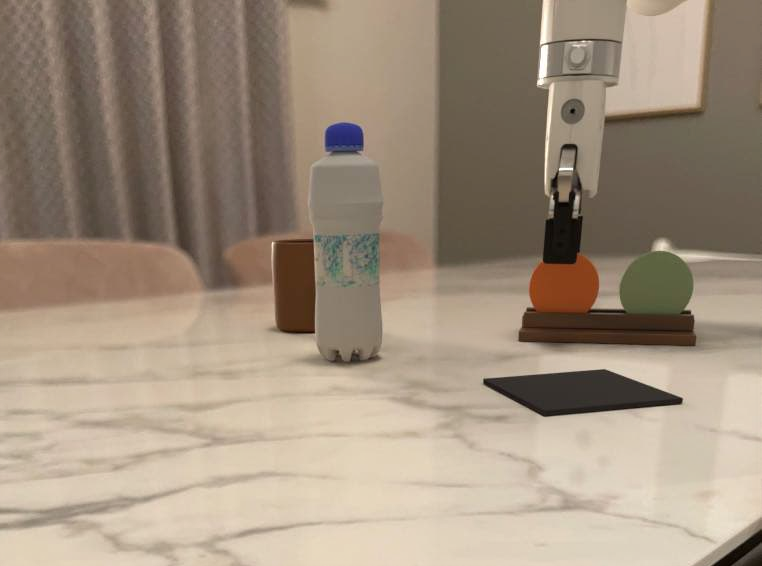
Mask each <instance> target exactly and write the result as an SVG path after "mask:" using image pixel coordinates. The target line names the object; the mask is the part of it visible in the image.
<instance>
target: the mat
mask: <svg viewBox="0 0 762 566" xmlns="http://www.w3.org/2000/svg"><path fill="white" fill-rule="evenodd" d="M482 384H483V385H485V386H487V387H489V388H491V389H493V390H495V391H497V392H499V393H501V394H502V395H504V396H506V397H508V398H510V399H511V400H514V402H515V401H516V402H517V403H519V404H521V405H523V406H525V407H526V408H529V409H530V410H532V411H534V412H536V413H538V414H540V415H542V416H543V417H548V416H559V415H569V414H581V413H591V412H592V413H593V412H602V411H614V410H623V409H636V408H646V407H647V408H648V407H657V406H667V405H677V404H678V405H679V404H683V403H684V398H683V397H682V396H679V395H676V394H673V393H670V392H668V391H665V390H662V389H660V388H657V387H654V386H652V385H649V384H646V383H644V382H641V381H638V380H635V379H633V378H630V377H627V376H625V375H622V374H619V373H616V372H615V371H611V370H609V369H607V368H602V369H601V368H600V369H588V370H577V371H562V372H551V373H550V372H549V373H538V374H524V375H514V376H513V375H512V376H501V377H485V378H483V379H482Z"/></svg>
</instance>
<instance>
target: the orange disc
mask: <svg viewBox="0 0 762 566" xmlns="http://www.w3.org/2000/svg"><path fill="white" fill-rule="evenodd" d="M599 290H600V277H599V273H598V271H597V268H596V266H595V264H594V263H593V262H592V260H590V258H588V257H587V256H586V255H584V254H582V253H581V252H580V253H577V261H576V263H575V264H545V263H544V262H543V259H542V260H541V261H540V262H539V263H538V264H537V265H536V267H535V268H534V270H533V272H532V274H531V276H530V280H529V285H528V295H529V299H530V302H531V305H532V307H534V308H535V310H536V311H537V312H578V313H587V312H588V311H589V310H590V309H591V308H593V306H594V304H595V303H596V301H597V298H598V296H599Z"/></svg>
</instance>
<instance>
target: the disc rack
mask: <svg viewBox="0 0 762 566" xmlns="http://www.w3.org/2000/svg"><path fill="white" fill-rule="evenodd" d="M695 321H696V320H695V315H694V314H692V310H691V309H684V310H683V311H682V312H681V313H680V314H636V313H627V312H626V311H625V310H624V308H607V307H606V308H604V307H602V308H601V307H600V308H599V307H598V308H597V307H591V309H590V310H589V311H588V312H587V313H578V312H537V311H536V310H535V308H534V306H530V307H529V306H527V307H526V309H525V311H524V312H523V315H522V317H521V327H520V328H519V330H518V336H517V341H518V342H539V343H542V342H543V343H580V344H616V345H617V344H618V345H651V346H652V345H653V346H655V345H657V346H658V345H659V346H691V347H692V346H696V344H697V333H696V332H695V330H694V328H695V323H696V322H695Z"/></svg>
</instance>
